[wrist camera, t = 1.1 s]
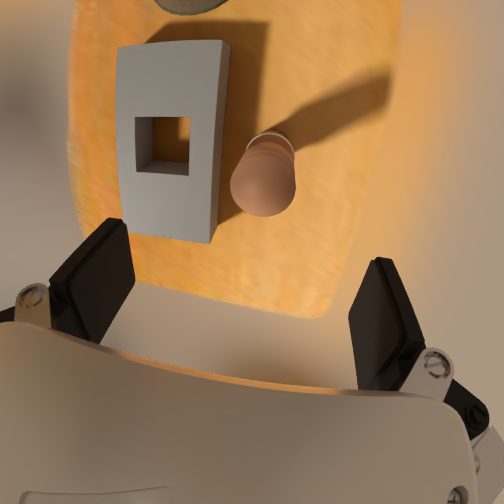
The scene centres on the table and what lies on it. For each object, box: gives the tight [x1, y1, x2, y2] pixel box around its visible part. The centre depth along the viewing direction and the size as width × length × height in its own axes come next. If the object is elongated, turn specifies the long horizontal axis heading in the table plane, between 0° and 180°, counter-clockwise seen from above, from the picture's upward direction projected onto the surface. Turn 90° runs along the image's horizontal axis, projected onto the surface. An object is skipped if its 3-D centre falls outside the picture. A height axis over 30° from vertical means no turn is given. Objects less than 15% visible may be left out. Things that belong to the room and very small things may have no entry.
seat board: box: [115, 40, 231, 244], centre depth 26 cm, size 20×10×4 cm, turn 174°
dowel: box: [230, 130, 296, 217], centre depth 22 cm, size 4×4×12 cm
